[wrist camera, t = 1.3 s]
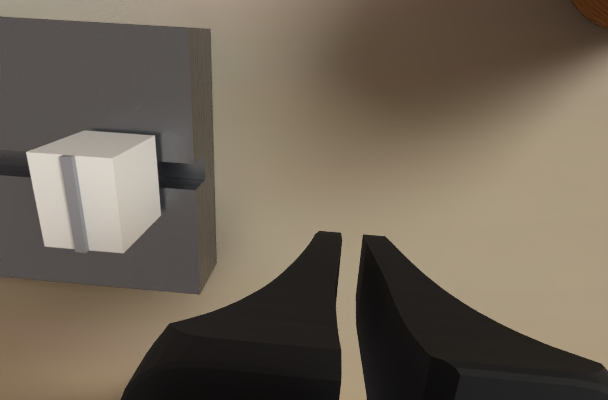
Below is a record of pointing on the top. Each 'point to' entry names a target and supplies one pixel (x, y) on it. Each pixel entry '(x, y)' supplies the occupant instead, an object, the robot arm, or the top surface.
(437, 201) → the top surface
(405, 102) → the top surface
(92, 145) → the fader tab
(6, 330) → the top surface
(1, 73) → the fader console
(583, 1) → the disposable coffee cup
